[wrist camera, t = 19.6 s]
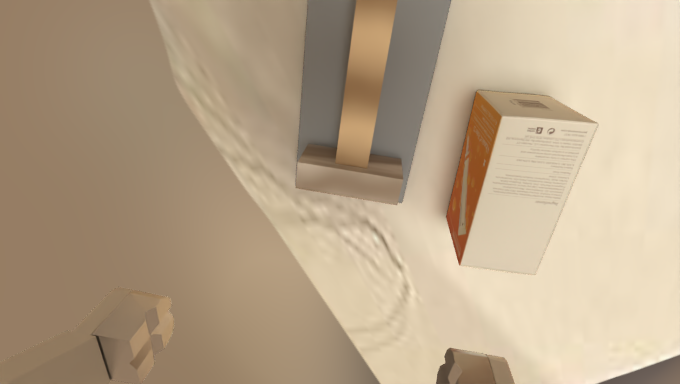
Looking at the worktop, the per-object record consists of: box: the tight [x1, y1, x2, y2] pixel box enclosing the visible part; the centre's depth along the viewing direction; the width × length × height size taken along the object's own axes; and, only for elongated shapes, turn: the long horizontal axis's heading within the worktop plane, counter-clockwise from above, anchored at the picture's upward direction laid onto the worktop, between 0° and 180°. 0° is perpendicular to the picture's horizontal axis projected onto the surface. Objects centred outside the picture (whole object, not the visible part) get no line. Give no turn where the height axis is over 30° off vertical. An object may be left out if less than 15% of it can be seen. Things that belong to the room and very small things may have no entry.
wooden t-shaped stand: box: [296, 0, 403, 205], centre depth 29 cm, size 16×9×4 cm, turn 173°
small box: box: [446, 90, 598, 275], centre depth 29 cm, size 8×6×13 cm
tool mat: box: [295, 0, 451, 203], centre depth 31 cm, size 20×11×1 cm, turn 173°
